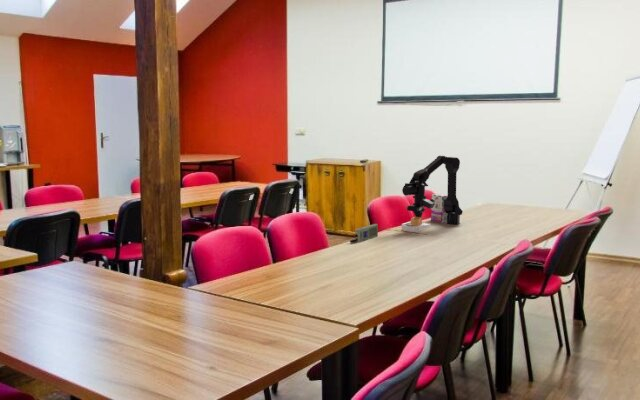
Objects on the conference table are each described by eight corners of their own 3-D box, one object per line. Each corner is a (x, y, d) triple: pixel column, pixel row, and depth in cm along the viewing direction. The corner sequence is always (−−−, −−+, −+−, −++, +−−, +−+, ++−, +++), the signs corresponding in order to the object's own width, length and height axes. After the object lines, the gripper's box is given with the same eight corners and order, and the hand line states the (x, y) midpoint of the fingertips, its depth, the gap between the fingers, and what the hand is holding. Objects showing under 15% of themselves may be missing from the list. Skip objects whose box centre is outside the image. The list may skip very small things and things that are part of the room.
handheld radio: (378, 236, 313) (353, 244, 293) (373, 236, 315) (348, 243, 295) (378, 224, 312) (353, 231, 292) (373, 223, 314) (347, 230, 294)
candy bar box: (448, 222, 354) (449, 195, 352) (441, 223, 352) (442, 196, 350) (437, 220, 364) (437, 193, 362) (430, 220, 362) (431, 194, 360)
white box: (431, 227, 338) (431, 221, 337) (417, 232, 324) (417, 226, 323) (415, 225, 344) (415, 219, 343) (401, 230, 330) (401, 224, 329)
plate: (435, 225, 345) (435, 224, 345) (430, 227, 340) (430, 226, 339) (424, 224, 349) (424, 223, 349) (419, 225, 344) (419, 225, 344)
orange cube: (422, 223, 334) (421, 217, 332) (418, 226, 331) (417, 220, 329) (415, 222, 337) (414, 216, 335) (411, 226, 333) (410, 219, 332)
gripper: (425, 197, 321) (424, 225, 323) (439, 193, 336) (439, 220, 338) (406, 195, 327) (406, 223, 330) (422, 192, 342) (421, 218, 345)
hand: (418, 221), depth 335 cm, fingers closed
